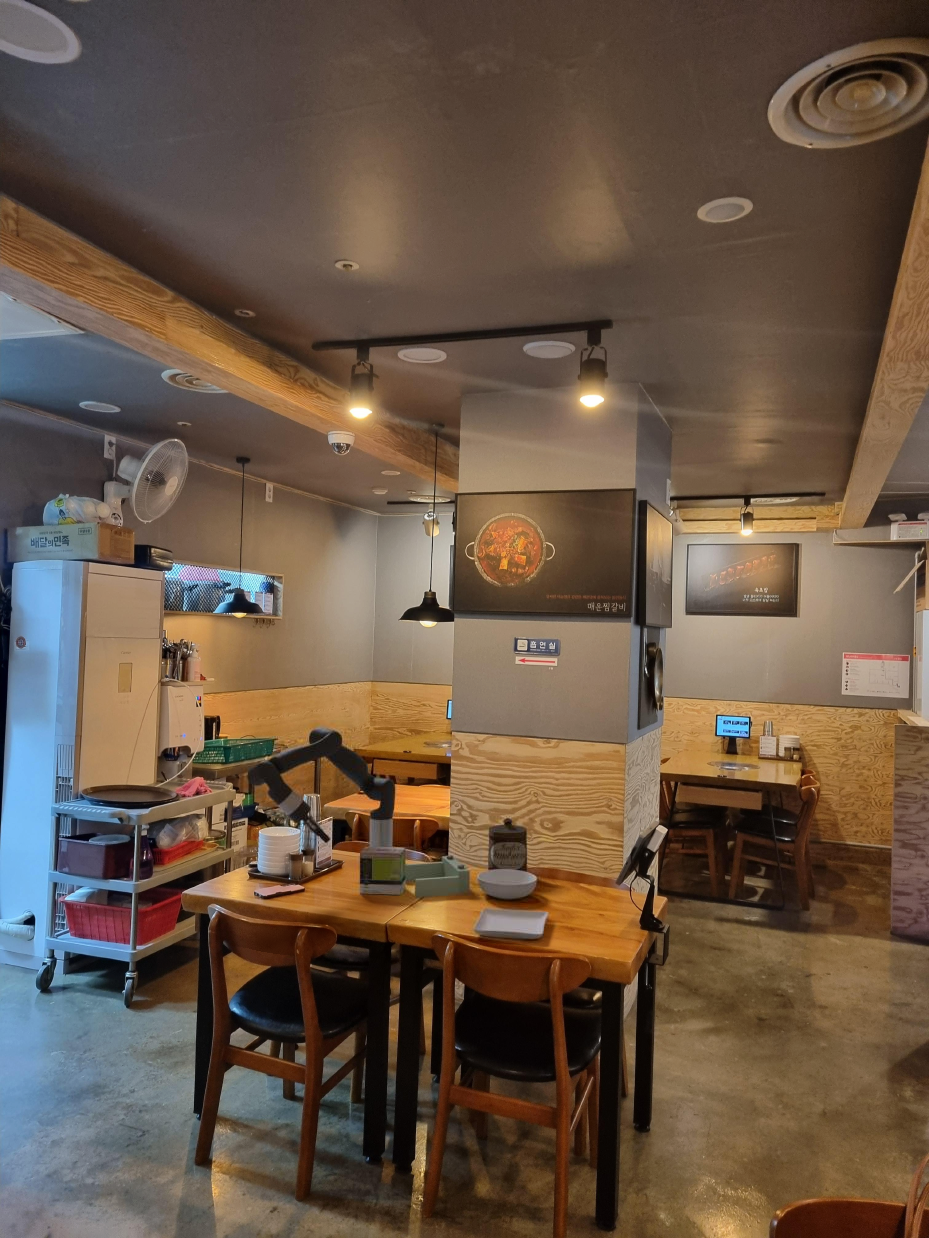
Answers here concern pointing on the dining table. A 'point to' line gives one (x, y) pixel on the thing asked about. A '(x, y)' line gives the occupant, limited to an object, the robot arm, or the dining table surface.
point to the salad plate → (511, 923)
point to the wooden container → (507, 847)
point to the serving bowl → (507, 883)
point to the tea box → (382, 870)
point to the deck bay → (439, 877)
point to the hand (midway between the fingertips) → (328, 840)
